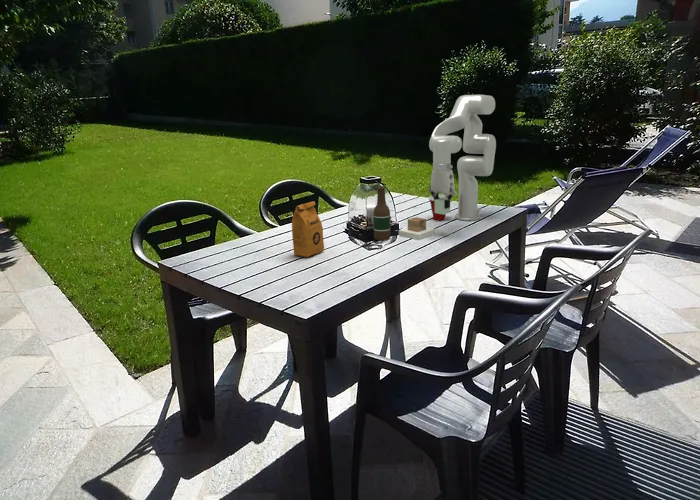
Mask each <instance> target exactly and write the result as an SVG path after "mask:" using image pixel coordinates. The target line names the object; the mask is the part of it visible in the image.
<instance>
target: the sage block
mask: <svg viewBox="0 0 700 500" xmlns="http://www.w3.org/2000/svg"><path fill="white" fill-rule="evenodd" d="M445 200H446V199H445V198H439V199H436V200H435V213H438V214H443V215H444V214H446V215H447V214H449V213H451V207H450V208H447V209H445Z"/></svg>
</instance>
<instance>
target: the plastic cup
mask: <svg viewBox="0 0 700 500" xmlns="http://www.w3.org/2000/svg"><path fill="white" fill-rule="evenodd" d="M438 197H439V198H445V194H439V196H438ZM427 199H428V201H429V203H430V208H431V213H432V217H433V221H438V222H440V221H445V220H446V215H447V214H444V215H443V214H438V213H435V207H434V198H433V196H432V195H431V196H428V198H427Z"/></svg>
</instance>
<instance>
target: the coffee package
mask: <svg viewBox="0 0 700 500" xmlns="http://www.w3.org/2000/svg"><path fill="white" fill-rule="evenodd" d="M315 206H316V202H315V201H309V202H306V203H302V204H299V205H297V206H295V210H294V213H293V215H292V219H291V233H292V234H291V235H292V237H291V238H292V247H293V254H294V256H299V257H305V258H306V257H307V258H309V257H310V256H313V255H316V254H317V255H318V254H320V253H322V252H324V249H325V243H324V242H325V241H324V232H323V231H324V229H323V224H322V221H321V219H320V217H319V215H318V213H317V210H316V208H315Z"/></svg>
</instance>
